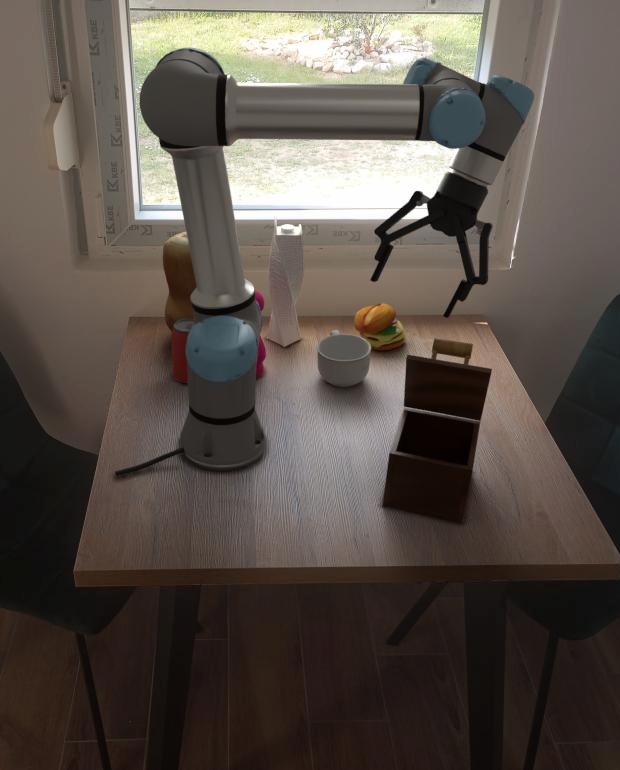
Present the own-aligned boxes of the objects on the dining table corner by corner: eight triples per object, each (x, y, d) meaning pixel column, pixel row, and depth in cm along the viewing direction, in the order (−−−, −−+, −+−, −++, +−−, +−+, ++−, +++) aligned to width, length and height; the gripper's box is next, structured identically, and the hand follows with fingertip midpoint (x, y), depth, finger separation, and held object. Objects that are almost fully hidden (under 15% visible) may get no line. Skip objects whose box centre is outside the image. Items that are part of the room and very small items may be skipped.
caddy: (461, 524, 126) (472, 470, 121) (382, 506, 130) (389, 453, 124) (470, 473, 137) (480, 421, 132) (396, 458, 141) (403, 407, 135)
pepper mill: (271, 367, 167) (273, 280, 156) (256, 383, 161) (258, 294, 151) (240, 359, 169) (240, 273, 159) (224, 375, 164) (224, 287, 153)
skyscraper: (258, 337, 178) (261, 218, 163) (281, 327, 182) (286, 209, 167) (284, 350, 173) (289, 228, 158) (307, 339, 177) (314, 219, 163)
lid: (491, 372, 119) (497, 339, 122) (406, 358, 122) (413, 326, 125) (480, 421, 131) (486, 390, 134) (403, 406, 135) (410, 376, 137)
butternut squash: (165, 326, 182) (160, 222, 168) (224, 324, 183) (223, 220, 170) (166, 356, 170) (160, 247, 157) (229, 354, 171) (228, 245, 158)
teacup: (370, 394, 159) (373, 359, 154) (316, 392, 159) (318, 358, 154) (363, 359, 170) (366, 326, 166) (313, 358, 170) (315, 325, 166)
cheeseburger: (410, 353, 172) (404, 313, 167) (361, 362, 174) (354, 323, 169) (403, 330, 181) (397, 292, 176) (357, 339, 182) (349, 301, 177)
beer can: (192, 388, 159) (191, 335, 153) (166, 378, 162) (163, 327, 156) (211, 374, 164) (210, 322, 158) (185, 365, 167) (183, 314, 161)
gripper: (542, 211, 127) (479, 328, 134) (403, 149, 133) (350, 264, 140) (540, 211, 120) (474, 334, 127) (393, 146, 126) (338, 267, 133)
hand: (409, 298), depth 134 cm, fingers open, 13 cm apart
